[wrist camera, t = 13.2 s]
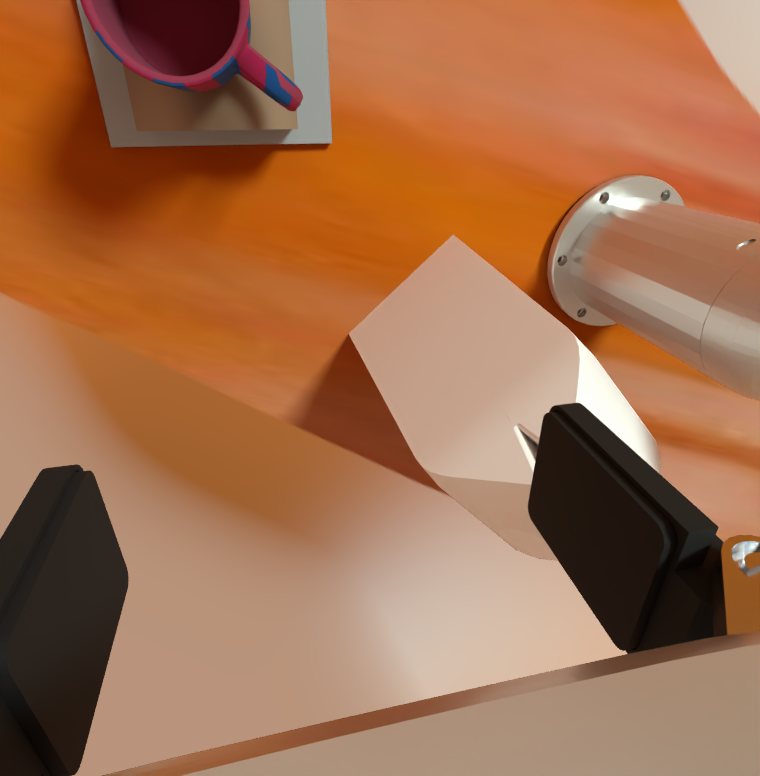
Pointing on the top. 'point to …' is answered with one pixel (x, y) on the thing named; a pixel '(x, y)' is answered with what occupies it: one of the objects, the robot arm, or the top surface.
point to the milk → (484, 384)
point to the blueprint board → (311, 118)
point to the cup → (188, 44)
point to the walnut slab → (223, 87)
